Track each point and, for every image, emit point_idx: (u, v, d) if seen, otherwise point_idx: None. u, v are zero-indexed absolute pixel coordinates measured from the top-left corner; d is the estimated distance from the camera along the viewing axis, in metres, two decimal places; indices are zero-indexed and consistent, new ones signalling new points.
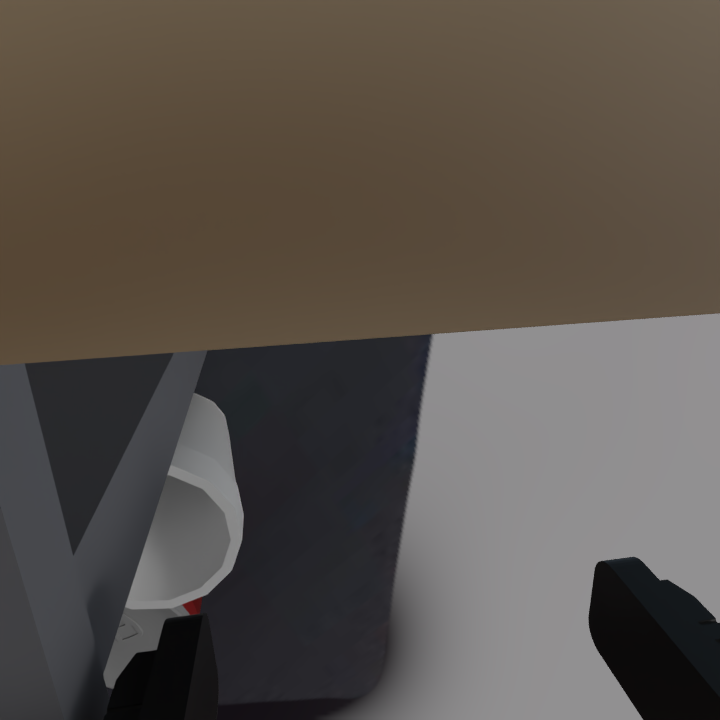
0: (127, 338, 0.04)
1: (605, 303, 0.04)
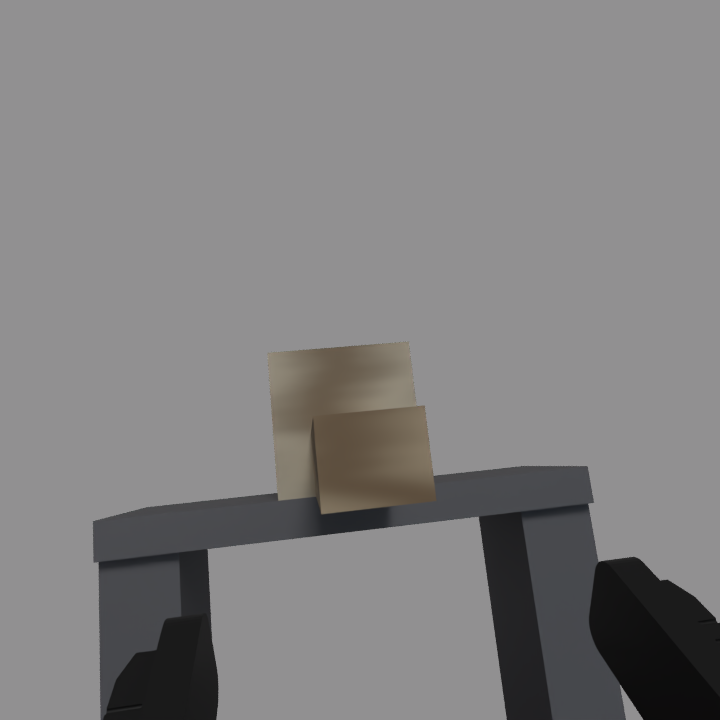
0: None
1: None
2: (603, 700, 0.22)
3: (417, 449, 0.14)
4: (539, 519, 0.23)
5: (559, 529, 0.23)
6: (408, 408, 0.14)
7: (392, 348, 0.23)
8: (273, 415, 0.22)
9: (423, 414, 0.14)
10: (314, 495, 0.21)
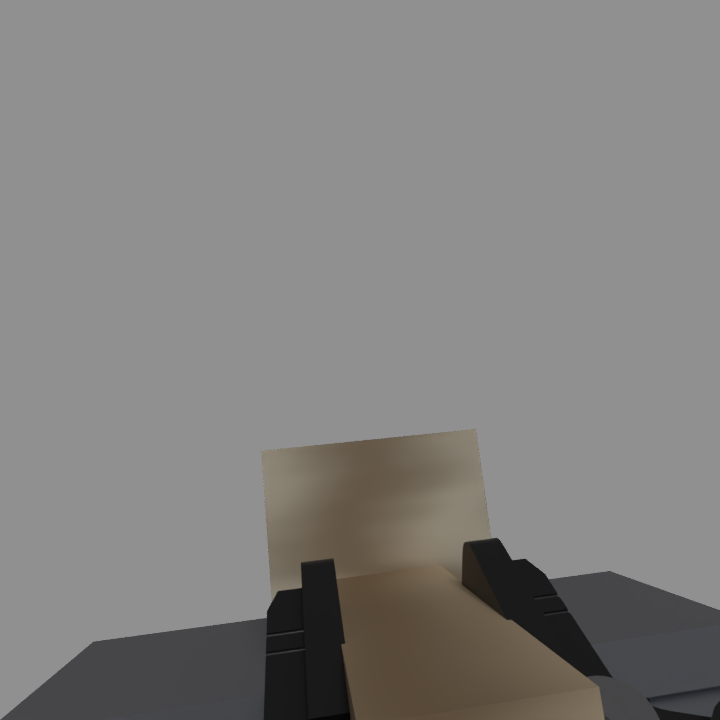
0: None
1: (356, 669, 0.08)
2: None
3: None
4: (676, 702, 0.15)
5: None
6: (565, 695, 0.07)
7: (451, 440, 0.15)
8: (270, 551, 0.14)
9: (597, 708, 0.07)
10: None
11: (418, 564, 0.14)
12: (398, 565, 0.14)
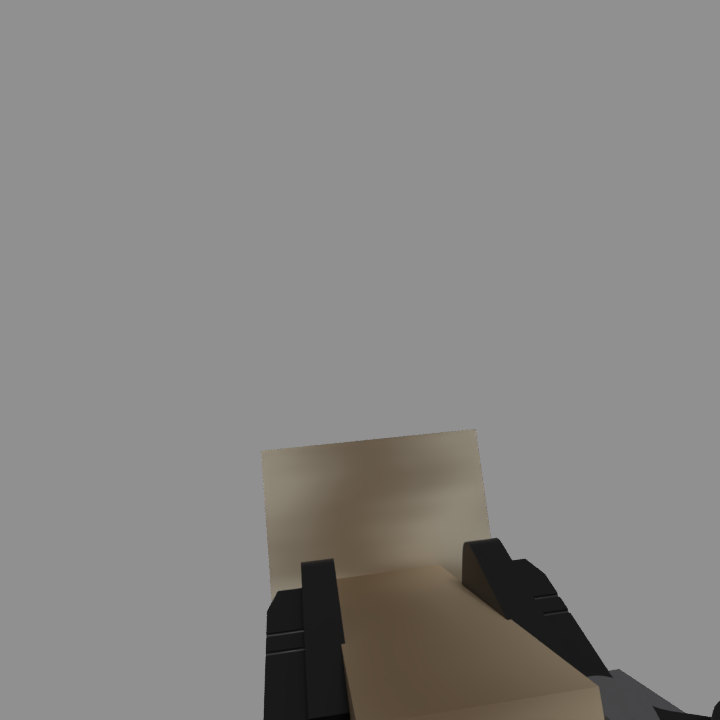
0: None
1: (356, 669, 0.08)
2: None
3: None
4: None
5: None
6: (565, 695, 0.07)
7: (451, 440, 0.15)
8: (270, 551, 0.14)
9: (598, 708, 0.07)
10: None
11: (418, 564, 0.14)
12: (398, 565, 0.14)
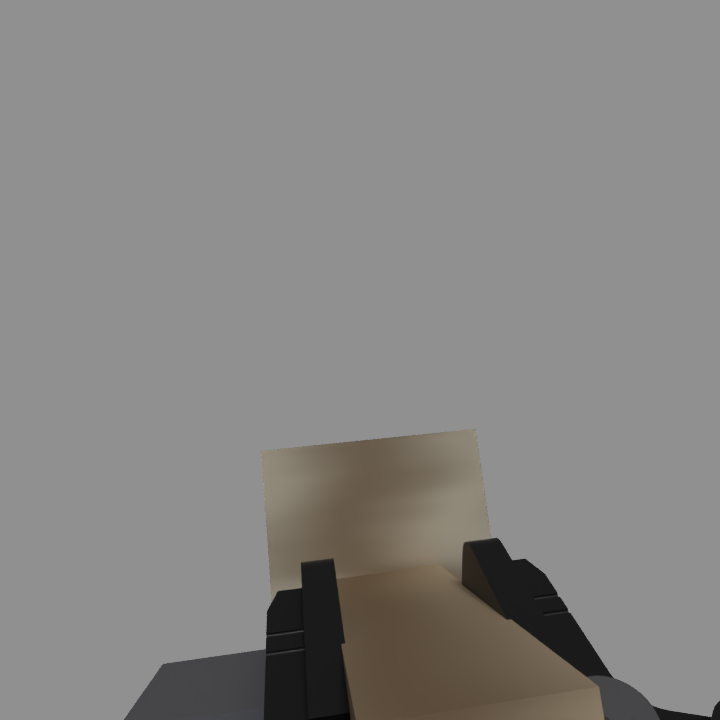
0: None
1: (356, 669, 0.08)
2: None
3: None
4: None
5: None
6: (564, 695, 0.07)
7: (451, 440, 0.15)
8: (270, 551, 0.14)
9: (597, 708, 0.07)
10: None
11: (418, 564, 0.14)
12: (398, 565, 0.14)
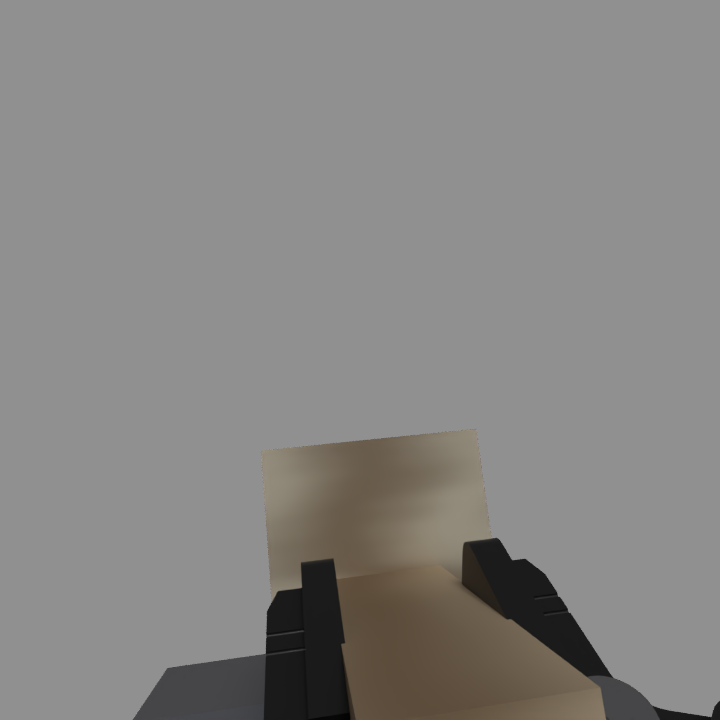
0: None
1: (356, 670, 0.08)
2: None
3: None
4: None
5: None
6: (566, 696, 0.07)
7: (452, 440, 0.15)
8: (270, 551, 0.14)
9: (599, 709, 0.07)
10: None
11: (418, 564, 0.14)
12: (398, 565, 0.14)
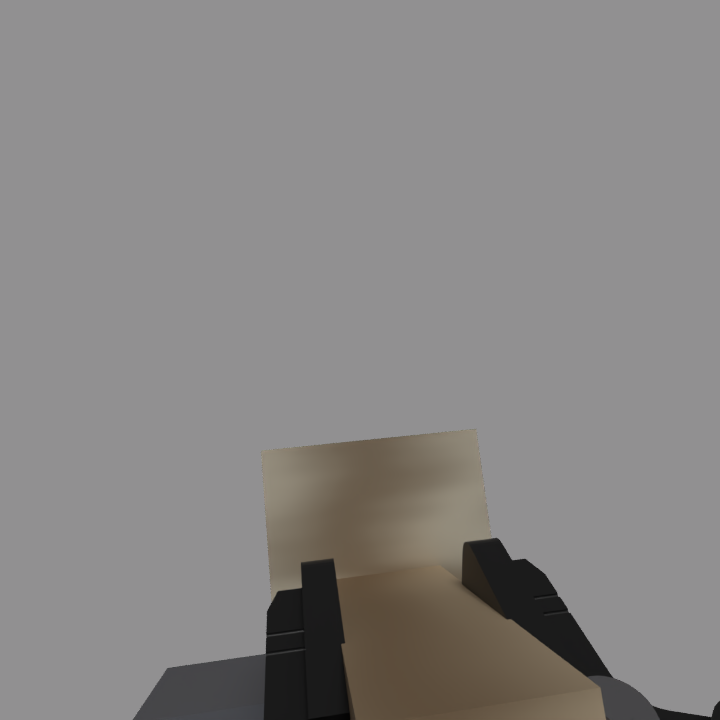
0: None
1: (356, 670, 0.08)
2: None
3: None
4: None
5: None
6: (566, 696, 0.07)
7: (452, 440, 0.15)
8: (270, 551, 0.14)
9: (599, 709, 0.07)
10: None
11: (418, 564, 0.14)
12: (398, 565, 0.14)
